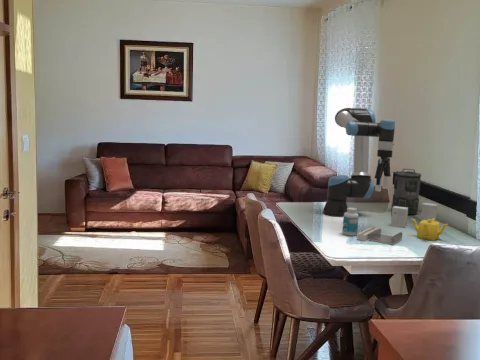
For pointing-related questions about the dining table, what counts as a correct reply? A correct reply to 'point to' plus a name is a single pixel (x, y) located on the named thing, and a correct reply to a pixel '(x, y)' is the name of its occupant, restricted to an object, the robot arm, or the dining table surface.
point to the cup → (428, 211)
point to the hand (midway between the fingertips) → (381, 189)
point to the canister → (407, 190)
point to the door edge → (365, 234)
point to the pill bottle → (350, 222)
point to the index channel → (384, 237)
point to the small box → (399, 216)
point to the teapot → (428, 229)
